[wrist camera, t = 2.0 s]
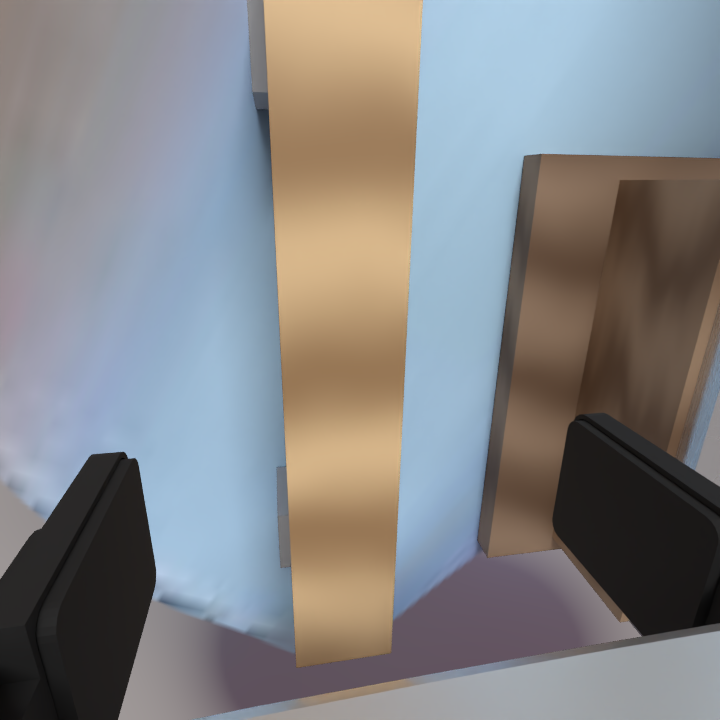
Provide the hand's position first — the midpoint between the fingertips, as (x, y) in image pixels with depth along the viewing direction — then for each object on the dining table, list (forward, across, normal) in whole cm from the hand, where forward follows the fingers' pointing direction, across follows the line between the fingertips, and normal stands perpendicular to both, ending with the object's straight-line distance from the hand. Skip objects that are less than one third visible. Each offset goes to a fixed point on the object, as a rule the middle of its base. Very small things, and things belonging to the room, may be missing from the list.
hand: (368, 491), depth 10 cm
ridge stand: (+14, -16, +3) cm, 21 cm away
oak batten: (+10, 0, -1) cm, 10 cm away
